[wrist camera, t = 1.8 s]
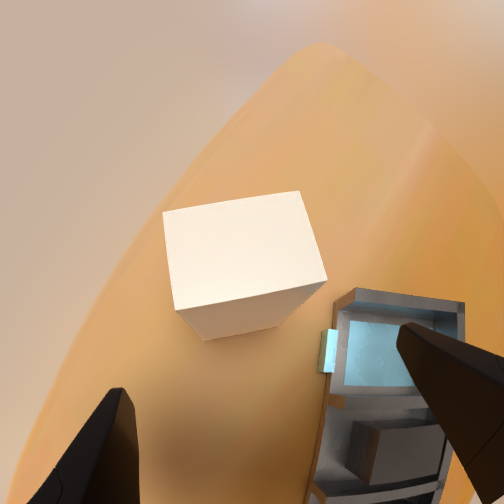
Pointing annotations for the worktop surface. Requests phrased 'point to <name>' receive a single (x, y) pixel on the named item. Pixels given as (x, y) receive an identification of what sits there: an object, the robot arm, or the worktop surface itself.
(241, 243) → the white rectangular block
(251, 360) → the worktop surface
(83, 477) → the robot arm
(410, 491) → the rack
